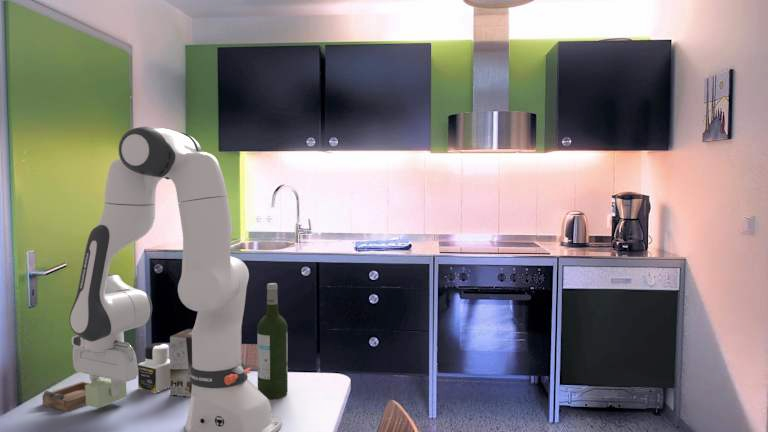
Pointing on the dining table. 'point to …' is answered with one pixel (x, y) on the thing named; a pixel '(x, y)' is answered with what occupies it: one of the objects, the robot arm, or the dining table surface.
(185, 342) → the coffee box
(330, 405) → the dining table surface
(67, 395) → the wooden footed tray
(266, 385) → the wine bottle
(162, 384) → the medicine bottle
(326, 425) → the dining table surface
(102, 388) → the pale green box
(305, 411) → the dining table surface
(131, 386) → the dining table surface
